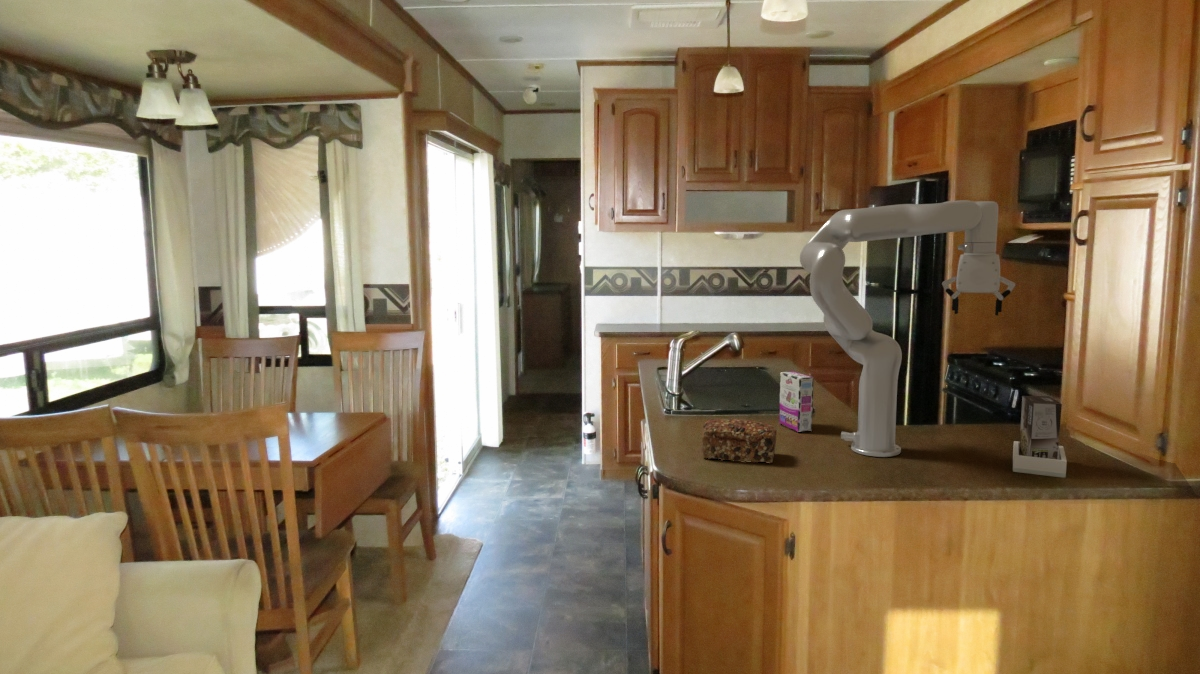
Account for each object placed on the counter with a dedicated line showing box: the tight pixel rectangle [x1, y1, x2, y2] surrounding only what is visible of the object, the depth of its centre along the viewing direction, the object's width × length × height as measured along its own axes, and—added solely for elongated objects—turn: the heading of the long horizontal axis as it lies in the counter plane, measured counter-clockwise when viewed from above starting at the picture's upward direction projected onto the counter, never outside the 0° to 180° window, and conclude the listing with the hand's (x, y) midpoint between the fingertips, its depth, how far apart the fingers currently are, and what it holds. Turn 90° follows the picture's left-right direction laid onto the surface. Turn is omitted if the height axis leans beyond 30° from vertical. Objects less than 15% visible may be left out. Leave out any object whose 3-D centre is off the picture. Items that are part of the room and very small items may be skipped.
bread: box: [701, 418, 777, 464], centre depth 201 cm, size 19×11×10 cm, turn 73°
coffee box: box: [1019, 395, 1063, 459], centre depth 188 cm, size 9×6×16 cm
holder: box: [1012, 440, 1068, 479], centre depth 189 cm, size 11×14×4 cm
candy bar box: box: [778, 370, 815, 433], centre depth 227 cm, size 11×5×16 cm, turn 18°
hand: (976, 314), depth 201 cm, fingers open, 9 cm apart
